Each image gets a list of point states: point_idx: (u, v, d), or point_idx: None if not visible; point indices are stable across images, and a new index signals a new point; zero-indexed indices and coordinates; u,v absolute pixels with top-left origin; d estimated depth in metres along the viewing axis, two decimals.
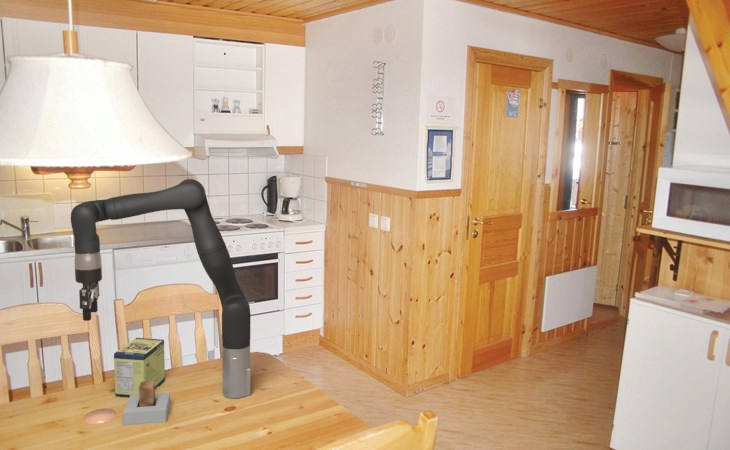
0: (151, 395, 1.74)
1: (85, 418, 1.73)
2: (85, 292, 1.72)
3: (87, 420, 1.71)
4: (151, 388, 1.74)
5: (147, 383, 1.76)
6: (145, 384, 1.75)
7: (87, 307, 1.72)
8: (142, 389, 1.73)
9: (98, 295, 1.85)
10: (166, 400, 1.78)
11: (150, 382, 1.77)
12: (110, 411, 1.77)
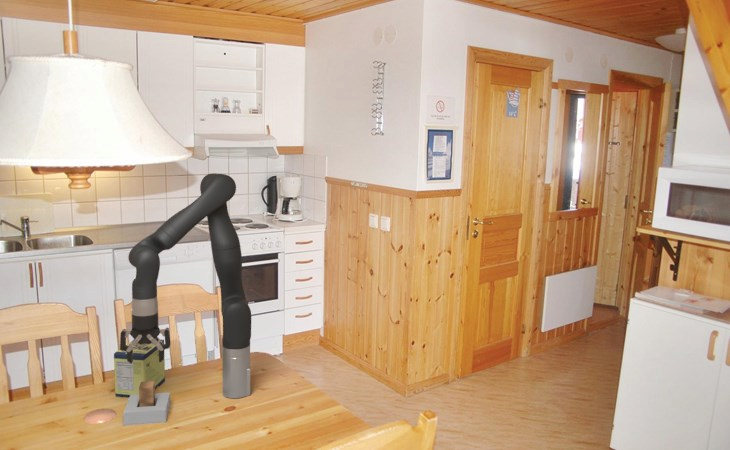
0: (151, 395, 1.74)
1: (85, 418, 1.73)
2: (169, 330, 1.75)
3: (87, 420, 1.71)
4: (151, 388, 1.74)
5: (147, 383, 1.76)
6: (145, 384, 1.75)
7: None
8: (142, 389, 1.73)
9: None
10: (166, 400, 1.78)
11: (150, 382, 1.77)
12: (110, 411, 1.77)
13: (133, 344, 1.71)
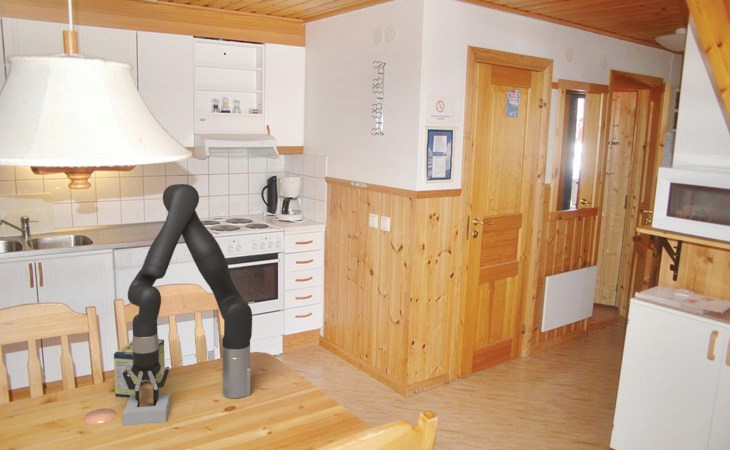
0: (151, 395, 1.74)
1: (85, 418, 1.73)
2: (168, 370, 1.77)
3: (87, 420, 1.71)
4: (151, 388, 1.74)
5: (147, 383, 1.76)
6: (145, 384, 1.75)
7: None
8: (142, 389, 1.73)
9: (133, 384, 1.76)
10: (166, 400, 1.78)
11: (150, 382, 1.77)
12: (110, 411, 1.77)
13: (138, 382, 1.73)
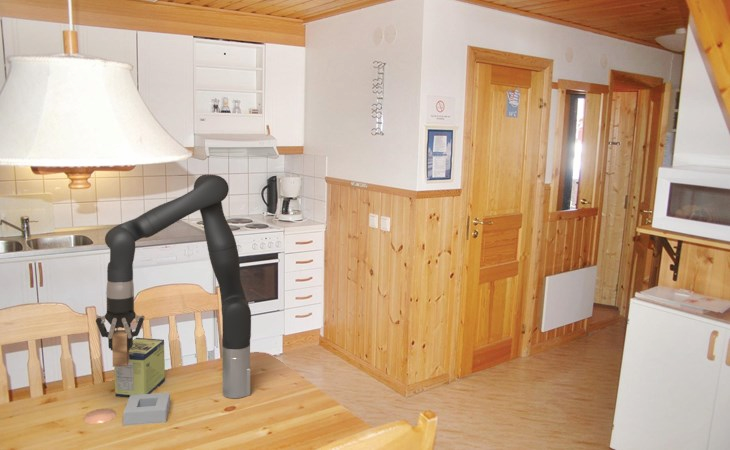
0: (125, 343, 1.70)
1: (85, 418, 1.73)
2: (143, 319, 1.73)
3: (87, 420, 1.71)
4: (125, 336, 1.70)
5: (121, 331, 1.72)
6: (119, 332, 1.71)
7: None
8: (116, 337, 1.69)
9: (107, 332, 1.72)
10: (166, 400, 1.78)
11: (124, 330, 1.73)
12: (110, 411, 1.77)
13: (112, 329, 1.69)
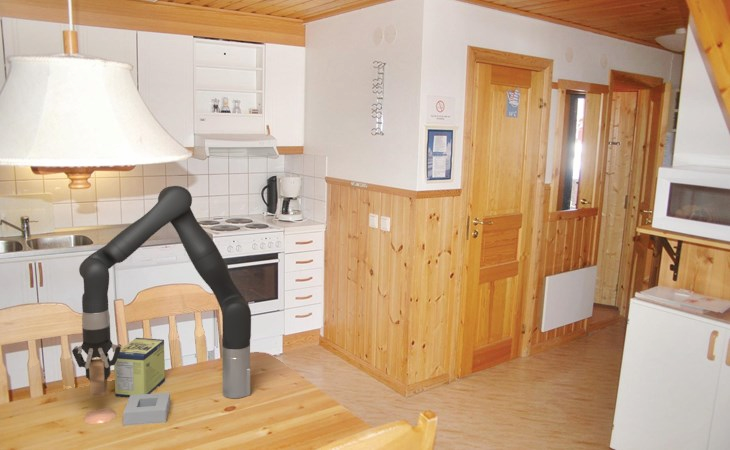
0: (102, 373, 1.71)
1: (85, 418, 1.73)
2: (120, 348, 1.73)
3: (87, 420, 1.71)
4: (102, 366, 1.70)
5: (98, 361, 1.72)
6: (96, 362, 1.72)
7: (115, 361, 1.74)
8: (92, 367, 1.70)
9: None
10: (166, 400, 1.78)
11: (101, 359, 1.74)
12: (110, 411, 1.77)
13: (88, 359, 1.70)
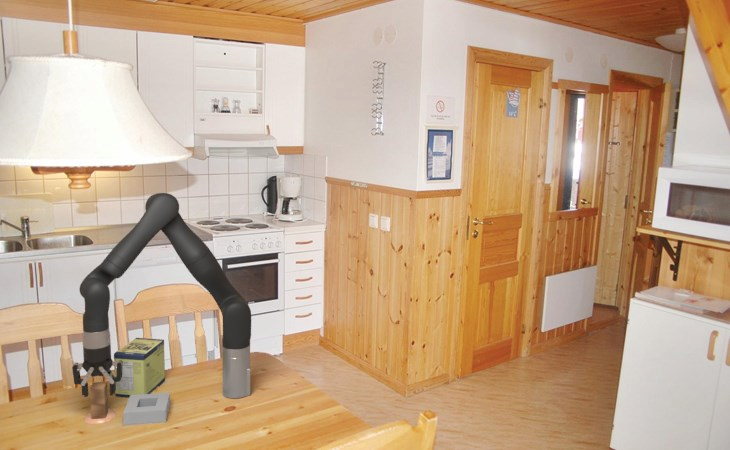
0: (102, 396, 1.72)
1: (85, 418, 1.73)
2: (122, 363, 1.74)
3: (87, 420, 1.71)
4: (102, 389, 1.71)
5: (99, 384, 1.73)
6: (96, 385, 1.73)
7: (121, 377, 1.75)
8: (93, 390, 1.71)
9: None
10: (166, 400, 1.78)
11: (102, 382, 1.75)
12: (110, 411, 1.77)
13: (86, 377, 1.70)
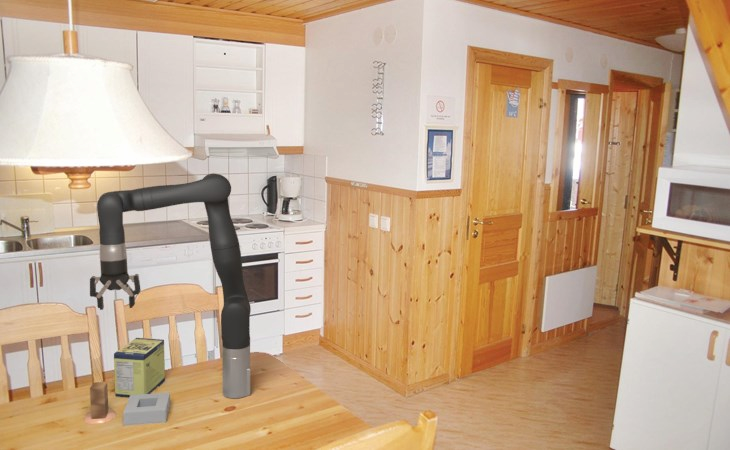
0: (102, 396, 1.72)
1: (85, 418, 1.73)
2: (138, 276, 1.77)
3: (87, 420, 1.71)
4: (102, 389, 1.72)
5: (99, 384, 1.73)
6: (96, 385, 1.73)
7: (140, 290, 1.79)
8: (93, 390, 1.71)
9: None
10: (166, 400, 1.78)
11: (102, 382, 1.75)
12: (110, 411, 1.77)
13: (103, 290, 1.73)
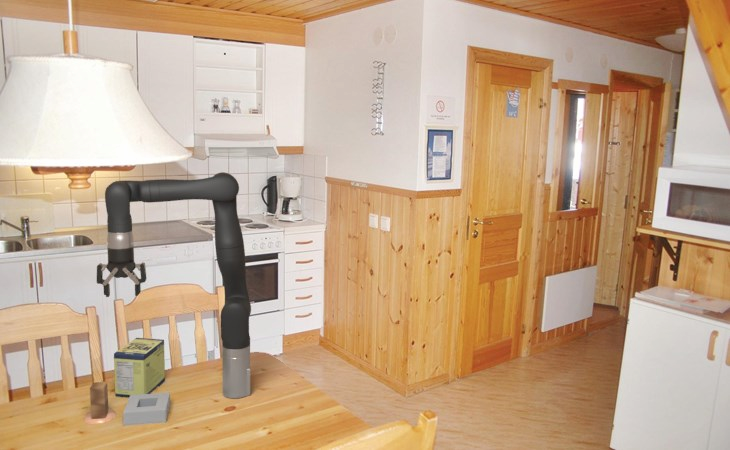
0: (102, 396, 1.72)
1: (85, 418, 1.73)
2: (144, 265, 1.80)
3: (87, 420, 1.71)
4: (102, 389, 1.72)
5: (99, 384, 1.73)
6: (96, 385, 1.73)
7: None
8: (93, 390, 1.71)
9: None
10: (166, 400, 1.78)
11: (102, 382, 1.75)
12: (110, 411, 1.77)
13: (109, 277, 1.76)
